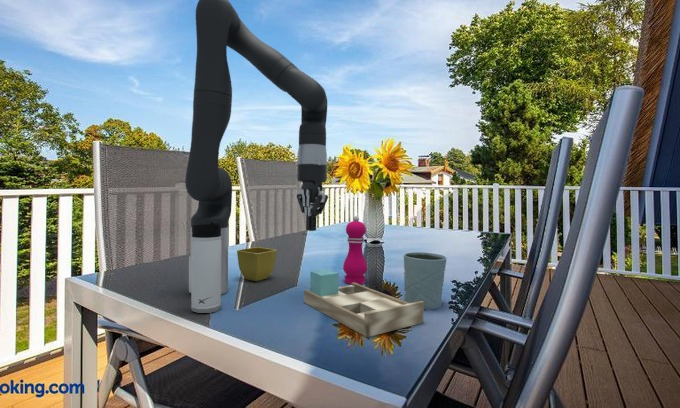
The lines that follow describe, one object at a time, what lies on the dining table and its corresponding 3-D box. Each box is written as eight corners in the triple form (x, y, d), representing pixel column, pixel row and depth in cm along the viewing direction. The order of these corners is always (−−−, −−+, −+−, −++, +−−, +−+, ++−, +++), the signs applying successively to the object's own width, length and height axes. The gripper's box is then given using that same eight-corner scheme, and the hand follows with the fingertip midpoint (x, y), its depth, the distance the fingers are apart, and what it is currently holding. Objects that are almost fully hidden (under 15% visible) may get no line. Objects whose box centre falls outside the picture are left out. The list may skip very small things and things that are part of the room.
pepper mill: (365, 285, 105) (366, 217, 105) (340, 284, 107) (341, 216, 106) (368, 280, 112) (369, 215, 112) (345, 278, 114) (346, 214, 113)
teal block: (320, 296, 86) (320, 275, 85) (310, 291, 90) (310, 271, 90) (338, 293, 88) (338, 273, 88) (327, 288, 93) (327, 269, 92)
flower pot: (277, 278, 113) (277, 249, 112) (256, 284, 105) (257, 253, 105) (256, 274, 118) (257, 246, 117) (235, 279, 110) (236, 250, 110)
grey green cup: (400, 297, 94) (401, 251, 94) (439, 298, 94) (440, 252, 94) (405, 310, 84) (407, 258, 84) (450, 311, 84) (451, 259, 83)
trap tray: (366, 337, 68) (367, 314, 68) (304, 302, 89) (304, 284, 89) (423, 322, 76) (423, 301, 76) (354, 293, 97) (354, 277, 97)
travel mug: (204, 316, 78) (205, 223, 77) (185, 310, 81) (185, 221, 81) (227, 308, 83) (228, 221, 82) (208, 303, 87) (209, 219, 86)
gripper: (287, 164, 97) (286, 228, 98) (311, 161, 86) (310, 234, 87) (312, 165, 101) (311, 227, 102) (338, 162, 90) (337, 232, 91)
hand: (311, 230), depth 94 cm, fingers closed
